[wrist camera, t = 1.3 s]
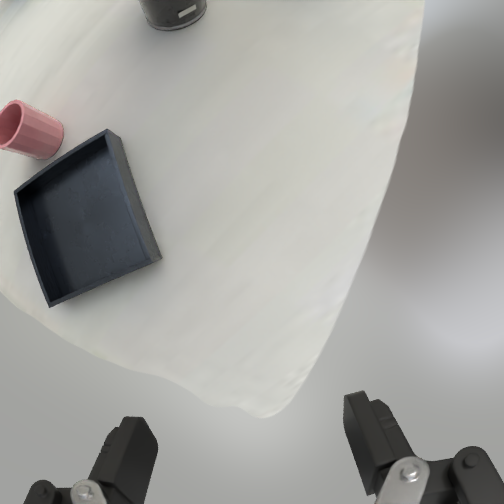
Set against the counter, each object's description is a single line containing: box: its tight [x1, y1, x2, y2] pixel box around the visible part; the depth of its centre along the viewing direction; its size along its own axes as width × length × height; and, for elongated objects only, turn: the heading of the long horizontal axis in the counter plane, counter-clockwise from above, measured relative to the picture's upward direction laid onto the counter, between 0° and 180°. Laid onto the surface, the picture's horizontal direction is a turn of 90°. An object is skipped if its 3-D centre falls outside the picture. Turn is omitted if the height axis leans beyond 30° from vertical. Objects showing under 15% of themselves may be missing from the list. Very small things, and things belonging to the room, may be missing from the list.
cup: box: [0, 100, 64, 160], centre depth 28 cm, size 6×6×10 cm
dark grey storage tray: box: [14, 129, 162, 308], centre depth 32 cm, size 17×17×4 cm
